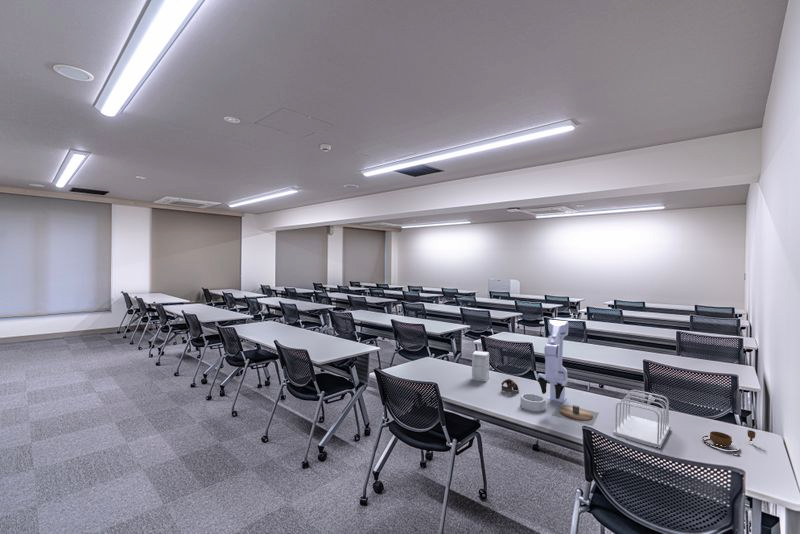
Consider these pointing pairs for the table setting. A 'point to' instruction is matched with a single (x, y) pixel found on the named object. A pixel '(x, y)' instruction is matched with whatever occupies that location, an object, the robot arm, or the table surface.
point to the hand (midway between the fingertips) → (550, 395)
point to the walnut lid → (576, 413)
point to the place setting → (725, 438)
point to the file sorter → (643, 422)
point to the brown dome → (509, 385)
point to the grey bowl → (533, 402)
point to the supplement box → (480, 366)
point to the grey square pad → (589, 422)
